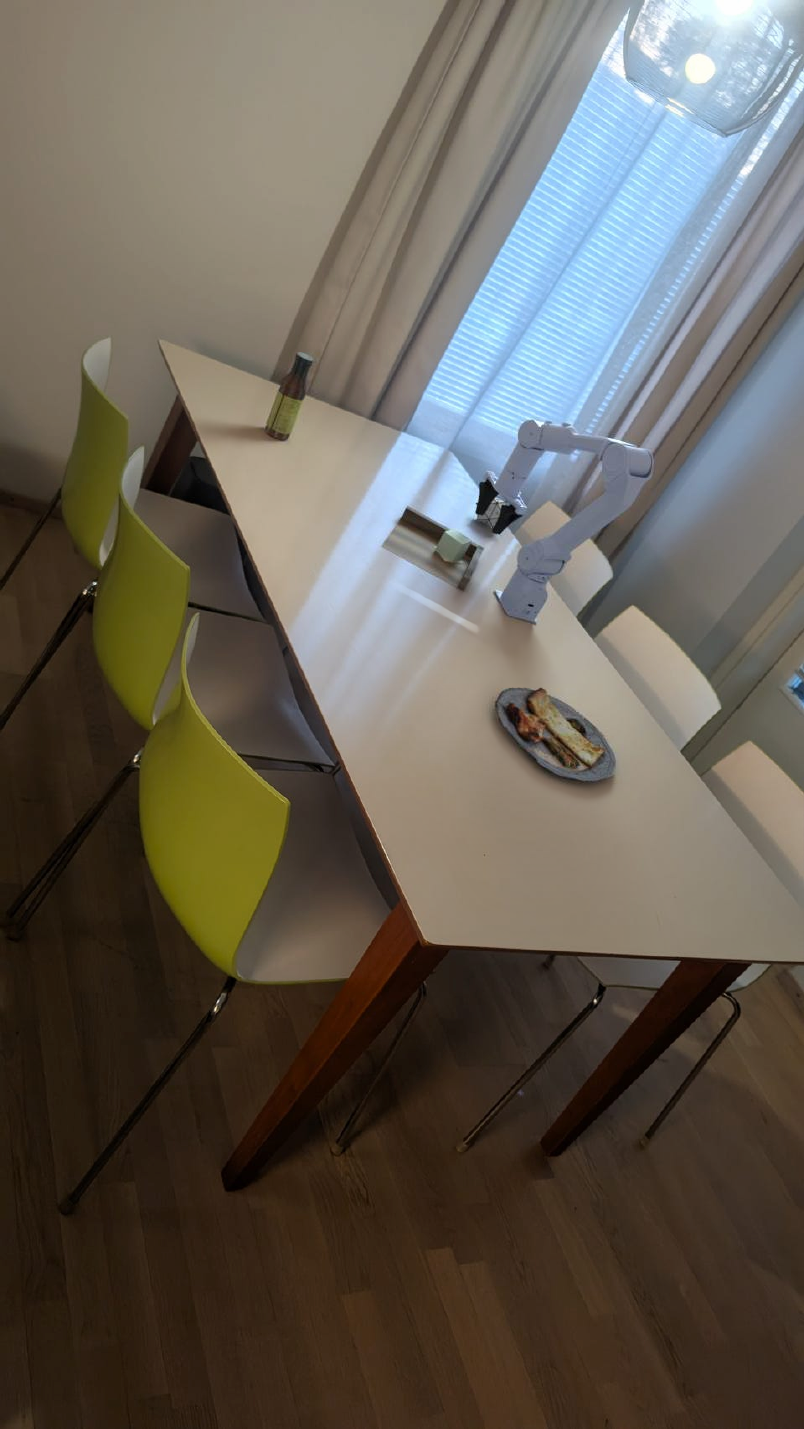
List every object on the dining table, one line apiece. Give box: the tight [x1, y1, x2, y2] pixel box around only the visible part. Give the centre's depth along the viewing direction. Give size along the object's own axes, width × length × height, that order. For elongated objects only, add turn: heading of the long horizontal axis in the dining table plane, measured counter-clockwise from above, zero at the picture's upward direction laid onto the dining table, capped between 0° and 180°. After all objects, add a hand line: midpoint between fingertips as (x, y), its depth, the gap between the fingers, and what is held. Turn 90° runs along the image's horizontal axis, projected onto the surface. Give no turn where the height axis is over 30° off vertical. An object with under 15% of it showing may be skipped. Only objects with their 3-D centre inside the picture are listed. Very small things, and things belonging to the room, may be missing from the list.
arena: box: [381, 505, 485, 592], centre depth 232 cm, size 20×20×4 cm
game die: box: [475, 496, 508, 530], centre depth 261 cm, size 9×8×10 cm
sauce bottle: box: [264, 351, 314, 441], centre depth 243 cm, size 7×6×20 cm
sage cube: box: [435, 527, 473, 563], centre depth 234 cm, size 5×5×5 cm
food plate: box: [494, 687, 617, 782], centre depth 193 cm, size 25×23×4 cm
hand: (487, 523), depth 237 cm, fingers open, 7 cm apart
